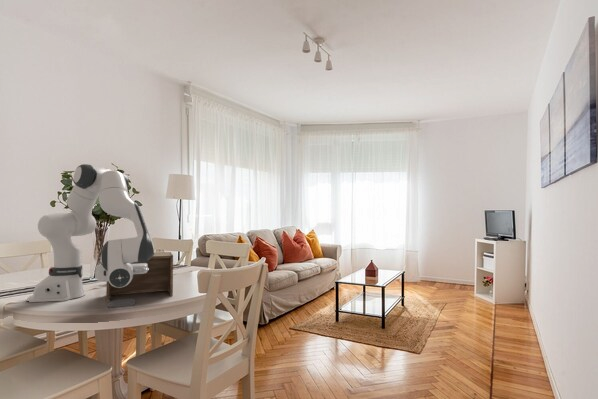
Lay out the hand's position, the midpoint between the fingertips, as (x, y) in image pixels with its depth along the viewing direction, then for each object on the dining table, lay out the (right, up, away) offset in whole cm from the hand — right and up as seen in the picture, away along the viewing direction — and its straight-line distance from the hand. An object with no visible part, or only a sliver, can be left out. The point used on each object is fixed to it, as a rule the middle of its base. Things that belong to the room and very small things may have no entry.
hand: (122, 267), depth 166 cm
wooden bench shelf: (+2, -16, +15) cm, 22 cm away
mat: (0, -16, -1) cm, 16 cm away
